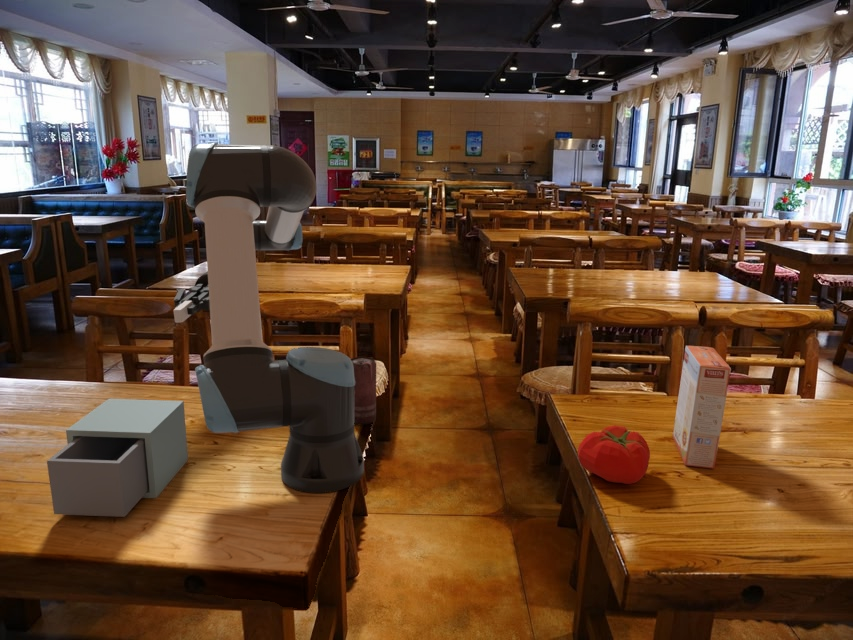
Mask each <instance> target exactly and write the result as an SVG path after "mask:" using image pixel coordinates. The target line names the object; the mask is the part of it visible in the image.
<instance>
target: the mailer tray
mask: <svg viewBox="0 0 853 640" xmlns="http://www.w3.org/2000/svg"><path fill="white" fill-rule="evenodd" d="M46 464H47V471H48V478H49V479H48V480H49V487H50V493H51V495H50V496H51V500H52V507H53V508H52V509H53V515H64V516H65V515H66V516H69V515H70V516H91V517H93V516H95V517H121V518H122V517H124V518H125V517H126V516H127V515H128V514H129V513H130V512H131V510H132V509H133V508H134V507H135V506H136V505H137V504H138V503H139V502H140V500H141V499H143V498H142V497H143V495H144V494H145V493H146V492H147V491H148V490H149V479H148V468H147V458H146V447H145V438H121V437H91V436H78V437H77V438H76V439H74V440H73V441H72V442H70V443H69V444H68V443H67V444H66V445H65V446H64V447H63V448H61V449H60V450H59V451H58V452H56V453H55V454H53V455H52V456H51V457H50V458H49V459H47V460H46Z"/></svg>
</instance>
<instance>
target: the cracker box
mask: <svg viewBox="0 0 853 640" xmlns="http://www.w3.org/2000/svg"><path fill="white" fill-rule="evenodd" d="M684 347H685V348H684V355H683V361H682V368H681V369H682V370H681V377H680V382H679V384H680V385H679V388H678V389H679V390H678V398H677V404H676V412H675V418H674V424H673V431H672V439H673V441H674V443H675V446H676V448H677V450H678V452H679V454H680V457H681V459H682V461H683V464H684V466H689V467H697V468H698V467H699V468H704V469H705V468H706V469H715V467H716V461H717V456H718V449H719V445H720V444H719V443H720V437H721V432H722V426H723V425H722V424H723V421H724V420H723V418H724V413H725V407H726V401H727V395H728V389H729V384H730V379H731V371H732V368H731V367H730V365H729V364H728V363H727V362H726V361H725V359H723V358H722V356H721V355H720V354H719V353H718V351H717V350H716V348H714V347H711V346H710V347H709V346H702V345H701V346H699V345H697V346H696V345H685V346H684Z"/></svg>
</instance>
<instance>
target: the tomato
mask: <svg viewBox="0 0 853 640" xmlns="http://www.w3.org/2000/svg"><path fill="white" fill-rule="evenodd" d="M577 456H578V460H579V462H580V465H581V466H582V467H583V468H584V469H586V471H588V472H590V473H592V474H594V475H595V476H597V477H599V478H602V479H604V480H605V481H607V482H608V483H617V484H618V483H620V484H625V485H626V484H627V485H631V484H635V483H637V482H639V481H640V480H641V479H643V477H644V476H645V474H646V472H647V470H648V468H649V462H650V458H651V457H650V456H651V451H650V448H649V444H648V442H647V441H646V439H645V438H644V436H642V435H641V434H640V433H639V432H637V431H634V430H633V431H632V430H628V429H627V428H626V427H625V426H620V425H611V426H607V427H605V428H603V429H601V431H593V432H590V433H588V434H586V436H584V438H583V440H582V441H581V442H580V443H579V446H578V449H577Z"/></svg>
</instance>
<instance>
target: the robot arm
mask: <svg viewBox="0 0 853 640" xmlns="http://www.w3.org/2000/svg"><path fill="white" fill-rule="evenodd" d="M186 167H187V168H186V186H185V188H186V189H185V198H186V205H187V206H188V207H190V208H192V209H194V210H195V213H194V214H195V215H196V218H198V219H199V220H200V221H202V222H203V223H204V233H205V234H204V236H205V250H206V264H207V271H205V272H204V273H203V274H201V275H200V276H199V277H198V278H197V279H196V281H195V283H194V286H191V287H189V288H188V290H186V289H185V288H181V287H179V288H176V295H175V297H174V299H173V302H174V303H173V305H174V309H173V310H172V311H173V317H174V319H173V320H174V323H177V324H179V323H184V322H185V321H186V320H187V319H188V318H190V317H191V316H192V315H195V314H196V313H199V312H201V311H202V310H203V311H204V312H209V317H210V331H211V332H210V333H211V346H210V348H209V349H208V350H207V351H206V352H204V353H203V364H199V365H198V366H196V367H195V368H194V371H195V376H196V380H197V386H198V391H199V395H200V402H201V406H202V411H203V418H204V421H205V425H206V428H207V429H208V430H209V431H210V432H211V433H214V434H222V433H234V434H238V433H239V432H247V431H255V430H265V429H273V428H284V427H289V436H288V440H287V444H286V446H285V449H284V450H285V451H284V453H283V457H282V459H281V463H280V475H281V480H282V482H283V483H284V484H285V485H287V486H288V487H289V488H291V489H294V490H297V491H300V492H304V493H312V494H313V493H315V494H323V493H333V492H338V491H342V490H344V489H347V488H350V487H352V486H353V485H355V484H356V483H359V481H360V480H361V479H362V478H363V476H364V474H365V460H364V458H365V457H364V456H363V453H362V449H361V447H360V445H359V442H358V439H357V436H356V433H355V424H354V386H355V378H354V367H353V363H352V361H351V359H352V358H350V357H349V356H347V355H346V354H344V353H343V352H341V351H337V350H334V349H330V348H326V347H318V346H299V347H297V348H291V349H290V350H289V351H288V352H287V353H286V356H285V358H286V359H279V360H278V359H276V360H275V359H274V355H273V351H272V350H273V349H272V348H271V347H269V346H268V345H267V344H266V343H265V342H264V340H263V331H262V320H261V319H262V317H261V306H260V305H261V304H260V295H259V282H258V266H257V257H256V256H257V255H256V251H291V250H299V249H301V248H302V247H303V246H302V245H303V226H302V223H301V219H302V218H303V215H304V211H306V210H308V209H309V207H311V206H312V204H313V202H314V200H315V197H316V194H317V180H316V177H315V173H314V172H313V170H312V169H311V167H310V166H309V164H308V163H307V162H306V161H305V160H304V159H303V158H301V157H300V156H299V155H298V154H296V153H295V152H293V151H292V150H289V149H288V148H285V147H282V146H279V145H274V144H271V145H270V144H266V145H263V144H262V145H260V144H227V143H226V144H225V143H224V144H219V143H218V142H212V143H199V144H198V143H197V144H195V145H193V146H192V147H191V149H190V151H189V154H188V158H187V166H186ZM261 207H262V208H264V207H265V208H266V207H267V208H268V210H267V215H266V219H265V220H264V219H263V220H256V219H258V217H259V216H260V214H261Z"/></svg>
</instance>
